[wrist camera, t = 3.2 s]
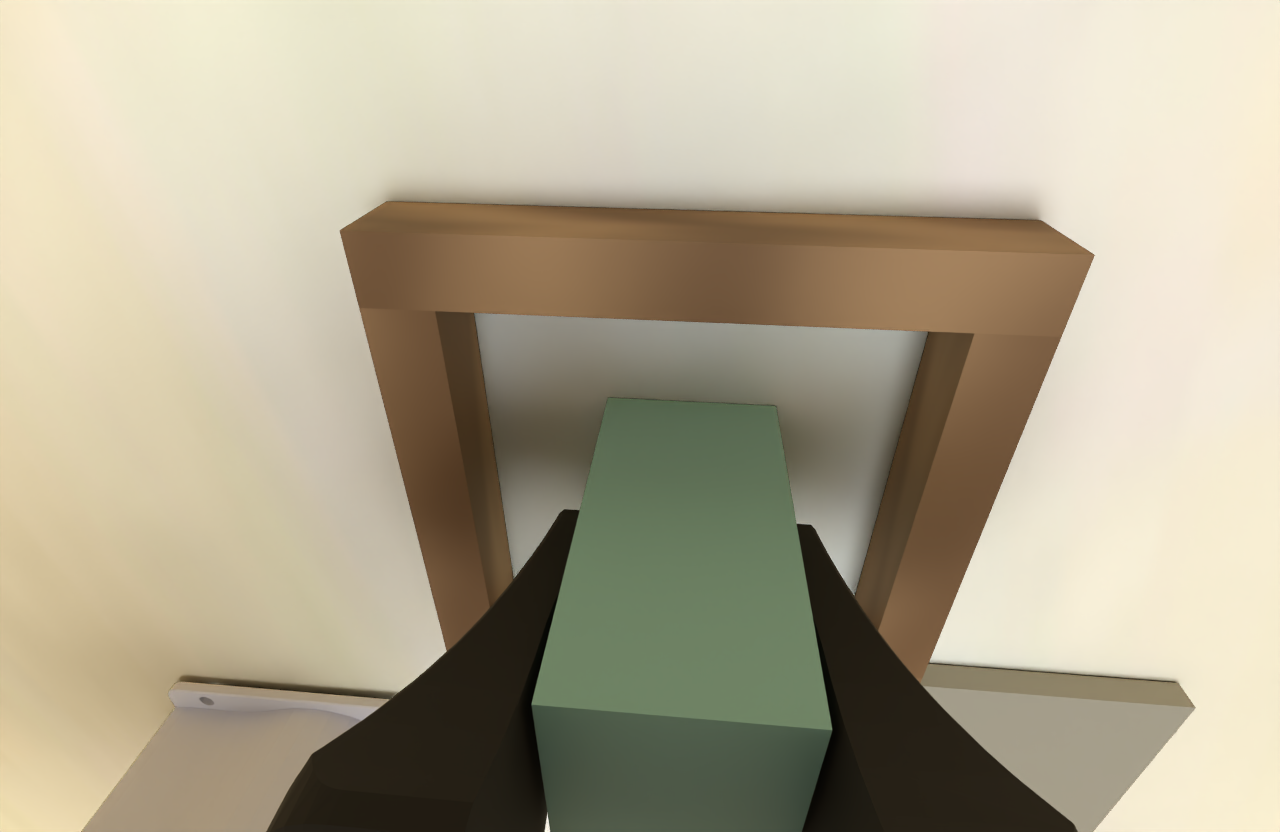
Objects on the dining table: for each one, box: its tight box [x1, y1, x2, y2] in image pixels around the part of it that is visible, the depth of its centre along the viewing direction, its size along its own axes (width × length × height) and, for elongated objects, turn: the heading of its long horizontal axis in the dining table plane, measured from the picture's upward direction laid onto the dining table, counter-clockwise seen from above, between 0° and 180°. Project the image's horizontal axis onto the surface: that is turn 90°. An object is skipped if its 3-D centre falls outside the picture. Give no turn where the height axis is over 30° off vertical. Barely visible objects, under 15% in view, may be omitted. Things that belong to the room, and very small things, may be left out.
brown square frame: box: [340, 202, 1095, 683], centre depth 15 cm, size 13×13×2 cm
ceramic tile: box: [921, 664, 1195, 832], centre depth 22 cm, size 10×10×1 cm
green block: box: [531, 398, 832, 832], centre depth 13 cm, size 4×4×8 cm
